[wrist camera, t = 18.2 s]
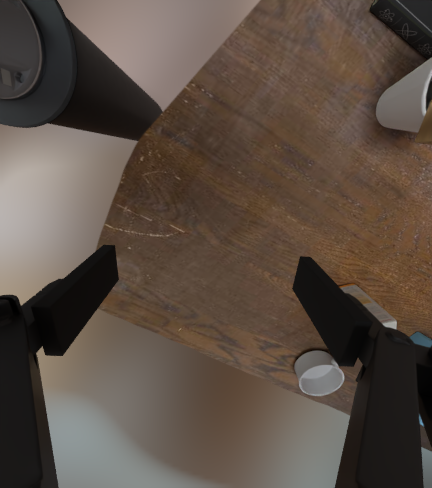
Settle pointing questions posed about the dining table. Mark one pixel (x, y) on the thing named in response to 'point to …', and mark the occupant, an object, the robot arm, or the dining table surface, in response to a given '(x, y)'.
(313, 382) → the saucepan
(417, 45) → the book
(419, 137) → the brown wooden block
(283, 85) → the dining table surface
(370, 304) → the supplement box
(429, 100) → the cup
